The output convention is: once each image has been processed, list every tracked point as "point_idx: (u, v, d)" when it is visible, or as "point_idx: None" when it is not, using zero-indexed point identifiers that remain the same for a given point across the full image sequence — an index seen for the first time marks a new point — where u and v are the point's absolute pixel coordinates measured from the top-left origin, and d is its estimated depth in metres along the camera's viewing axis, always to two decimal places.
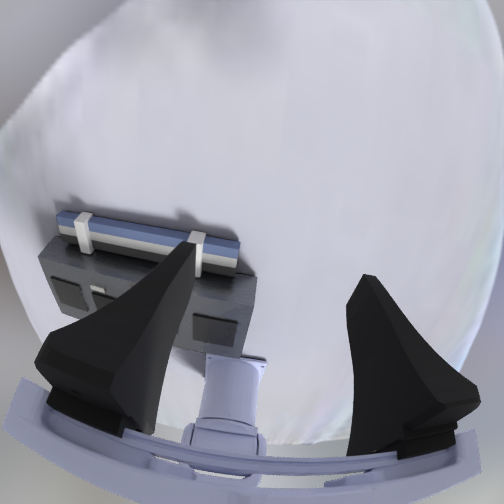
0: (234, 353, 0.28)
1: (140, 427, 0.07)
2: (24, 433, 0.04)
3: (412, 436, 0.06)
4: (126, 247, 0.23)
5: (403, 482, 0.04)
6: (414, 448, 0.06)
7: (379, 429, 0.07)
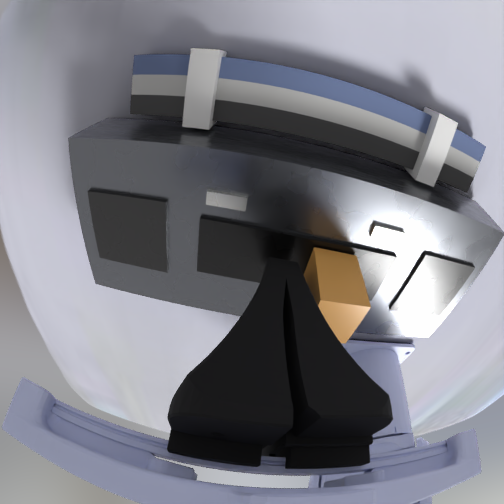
0: (429, 327, 0.15)
1: None
2: (25, 433, 0.04)
3: (298, 444, 0.06)
4: (305, 116, 0.11)
5: (403, 482, 0.04)
6: (303, 458, 0.05)
7: None
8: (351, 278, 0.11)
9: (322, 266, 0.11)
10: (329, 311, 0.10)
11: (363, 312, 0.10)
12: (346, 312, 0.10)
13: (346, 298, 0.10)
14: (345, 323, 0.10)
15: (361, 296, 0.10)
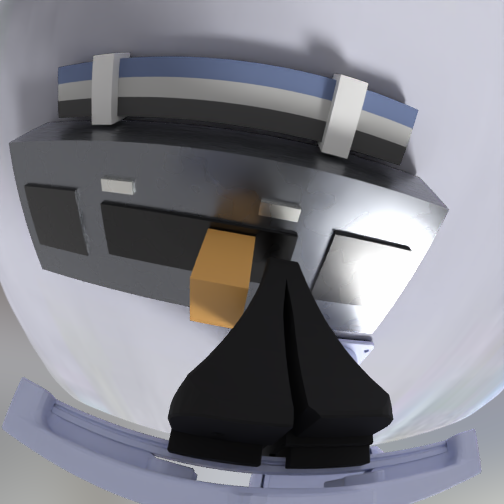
0: (369, 321, 0.15)
1: None
2: (25, 433, 0.04)
3: (298, 443, 0.06)
4: (194, 100, 0.11)
5: (403, 482, 0.04)
6: (303, 458, 0.05)
7: None
8: (237, 258, 0.10)
9: (208, 246, 0.11)
10: (204, 291, 0.10)
11: (242, 294, 0.10)
12: (223, 293, 0.10)
13: (220, 277, 0.10)
14: (228, 306, 0.10)
15: (241, 277, 0.10)
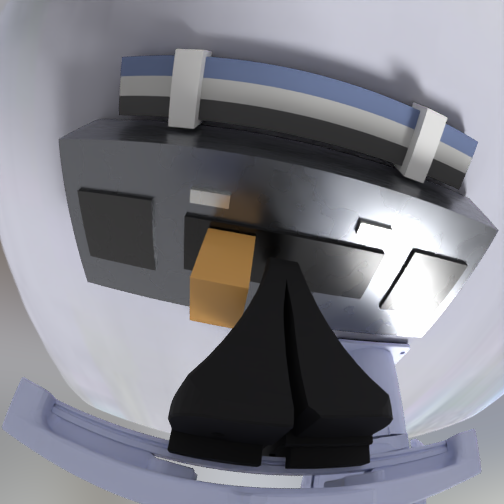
0: (422, 326, 0.15)
1: None
2: (25, 433, 0.04)
3: (298, 443, 0.06)
4: (289, 113, 0.11)
5: (403, 482, 0.04)
6: (303, 458, 0.05)
7: None
8: (238, 258, 0.10)
9: (208, 245, 0.11)
10: (204, 291, 0.10)
11: (242, 294, 0.10)
12: (223, 292, 0.10)
13: (220, 277, 0.10)
14: (228, 305, 0.10)
15: (241, 276, 0.10)
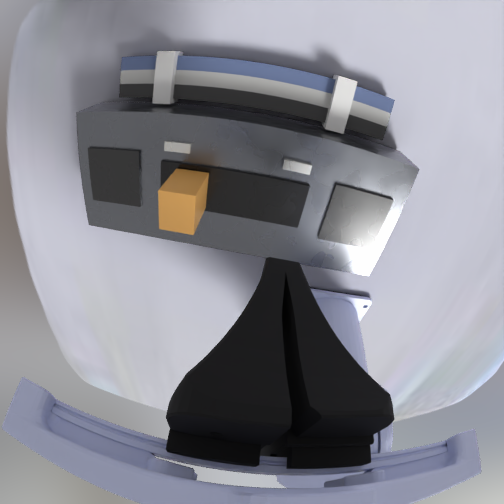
0: (365, 263, 0.19)
1: None
2: (25, 433, 0.04)
3: (299, 444, 0.06)
4: (234, 90, 0.15)
5: (403, 482, 0.04)
6: (304, 458, 0.05)
7: None
8: (193, 182, 0.15)
9: (174, 176, 0.15)
10: (167, 200, 0.14)
11: (192, 201, 0.14)
12: (179, 201, 0.14)
13: (178, 190, 0.14)
14: (184, 212, 0.14)
15: (192, 190, 0.14)
